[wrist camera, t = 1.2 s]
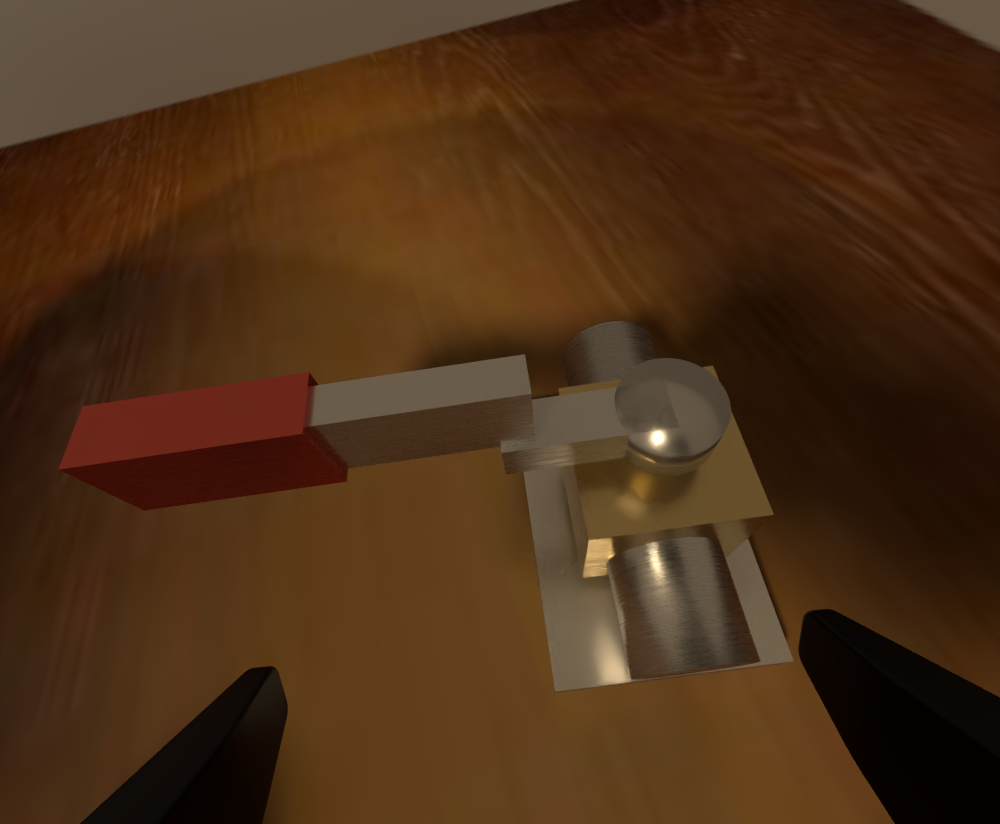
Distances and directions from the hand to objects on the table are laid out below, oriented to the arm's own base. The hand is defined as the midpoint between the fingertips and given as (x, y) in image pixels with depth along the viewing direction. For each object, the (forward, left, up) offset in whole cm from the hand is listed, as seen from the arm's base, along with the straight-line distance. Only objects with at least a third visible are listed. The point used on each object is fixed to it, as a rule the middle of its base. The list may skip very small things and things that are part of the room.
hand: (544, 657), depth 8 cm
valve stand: (+6, -5, -14) cm, 16 cm away
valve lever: (+6, +2, -5) cm, 8 cm away
